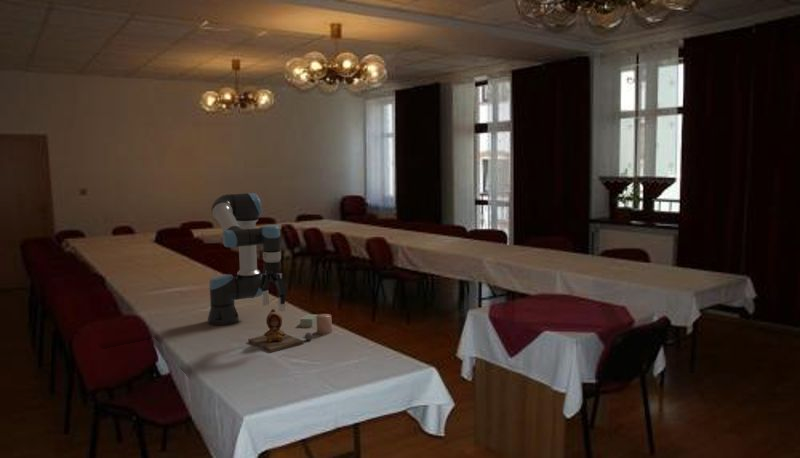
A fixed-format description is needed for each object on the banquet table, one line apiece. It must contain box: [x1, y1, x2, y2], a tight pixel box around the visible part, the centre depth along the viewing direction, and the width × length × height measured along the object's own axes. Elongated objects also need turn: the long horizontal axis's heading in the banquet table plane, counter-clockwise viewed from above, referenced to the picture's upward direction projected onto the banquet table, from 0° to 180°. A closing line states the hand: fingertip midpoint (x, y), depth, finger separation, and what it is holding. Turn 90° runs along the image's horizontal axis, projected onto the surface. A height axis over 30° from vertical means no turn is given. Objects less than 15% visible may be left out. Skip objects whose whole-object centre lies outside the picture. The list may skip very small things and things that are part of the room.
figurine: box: [263, 308, 286, 343], centre depth 261 cm, size 10×8×15 cm
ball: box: [304, 332, 314, 341], centre depth 264 cm, size 4×4×4 cm
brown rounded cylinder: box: [316, 313, 333, 336], centre depth 276 cm, size 7×7×8 cm
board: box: [247, 333, 304, 353], centre depth 261 cm, size 20×16×2 cm
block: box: [300, 313, 318, 328], centre depth 291 cm, size 6×9×4 cm, turn 170°
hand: (273, 308), depth 260 cm, fingers open, 13 cm apart
